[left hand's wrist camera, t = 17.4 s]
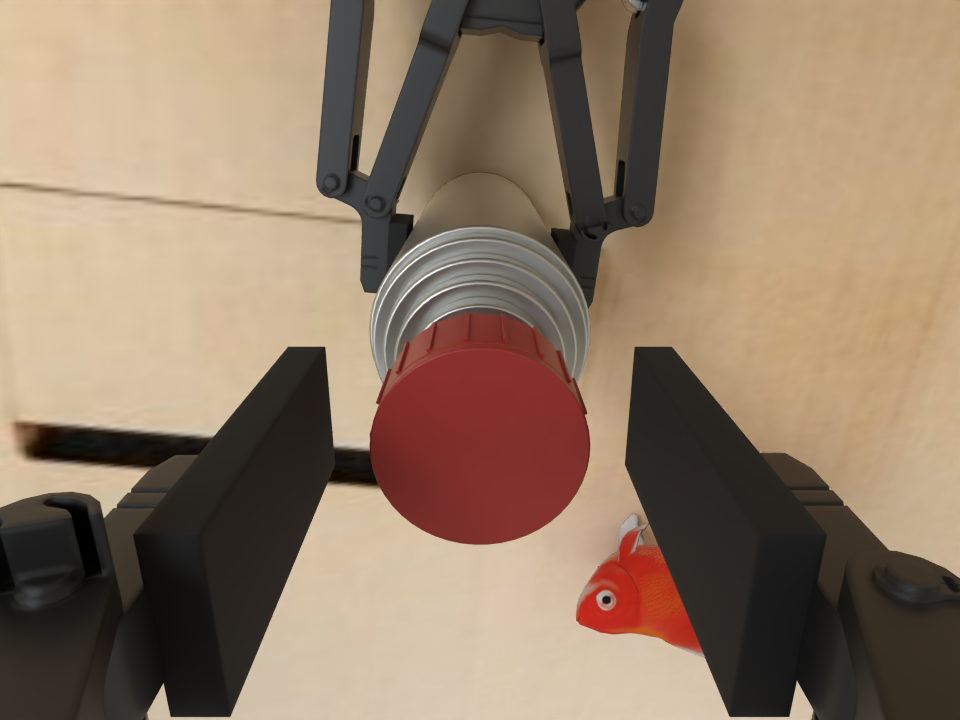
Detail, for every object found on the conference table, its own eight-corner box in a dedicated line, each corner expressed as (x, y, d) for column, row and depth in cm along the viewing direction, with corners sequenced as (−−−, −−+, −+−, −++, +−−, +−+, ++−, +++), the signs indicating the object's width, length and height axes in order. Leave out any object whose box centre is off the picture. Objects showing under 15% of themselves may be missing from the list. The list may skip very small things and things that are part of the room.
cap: (348, 428, 15) (326, 482, 12) (450, 271, 13) (445, 300, 11) (505, 517, 15) (509, 581, 13) (615, 376, 14) (638, 421, 12)
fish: (599, 448, 34) (710, 637, 27) (807, 431, 41) (935, 578, 34) (525, 566, 40) (601, 740, 34) (716, 534, 47) (809, 673, 41)
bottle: (508, 150, 34) (564, 221, 11) (557, 260, 35) (687, 504, 13) (400, 205, 34) (255, 368, 12) (453, 309, 36) (412, 613, 14)
